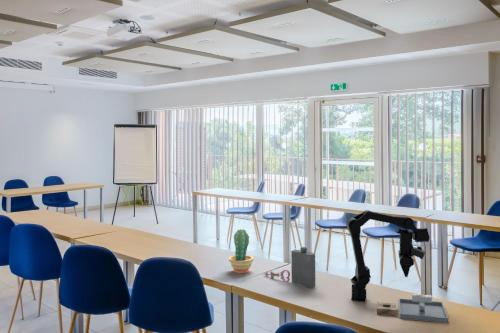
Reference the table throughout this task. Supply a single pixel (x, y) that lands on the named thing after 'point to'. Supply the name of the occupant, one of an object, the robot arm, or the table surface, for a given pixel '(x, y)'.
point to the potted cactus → (241, 253)
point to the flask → (303, 267)
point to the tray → (432, 312)
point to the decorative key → (279, 275)
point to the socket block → (386, 308)
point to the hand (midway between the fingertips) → (405, 274)
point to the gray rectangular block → (422, 300)
